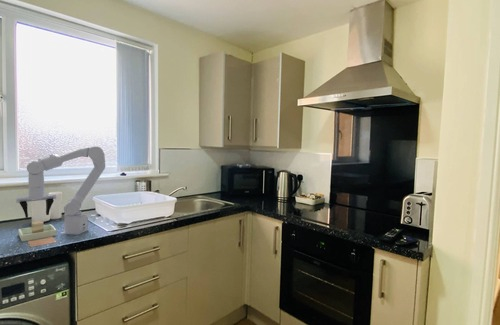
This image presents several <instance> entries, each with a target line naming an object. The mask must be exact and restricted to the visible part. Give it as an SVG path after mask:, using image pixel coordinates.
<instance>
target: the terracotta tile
mask: <svg viewBox="0 0 500 325" xmlns="http://www.w3.org/2000/svg"><path fill="white" fill-rule="evenodd" d="M55 243H57V240H56V239H55V238H54V236H51V237H46V238H40V239H34V240H29V241H27V244H28V245H29V247H30V248H33V247H39V246H43V245H49V244H55Z"/></svg>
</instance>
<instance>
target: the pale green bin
mask: <svg viewBox="0 0 500 325" xmlns="http://www.w3.org/2000/svg"><path fill="white" fill-rule="evenodd" d="M18 236H19V238H20V240H21V242H28V241H32V240H38V239H43V238H49V237H57V236H58V233H57V228H55V226H54V225H53V224H51V223H50V224H44V232H39V233H33V234H32V226H31V227H25V228H23V227H22V228H18Z"/></svg>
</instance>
